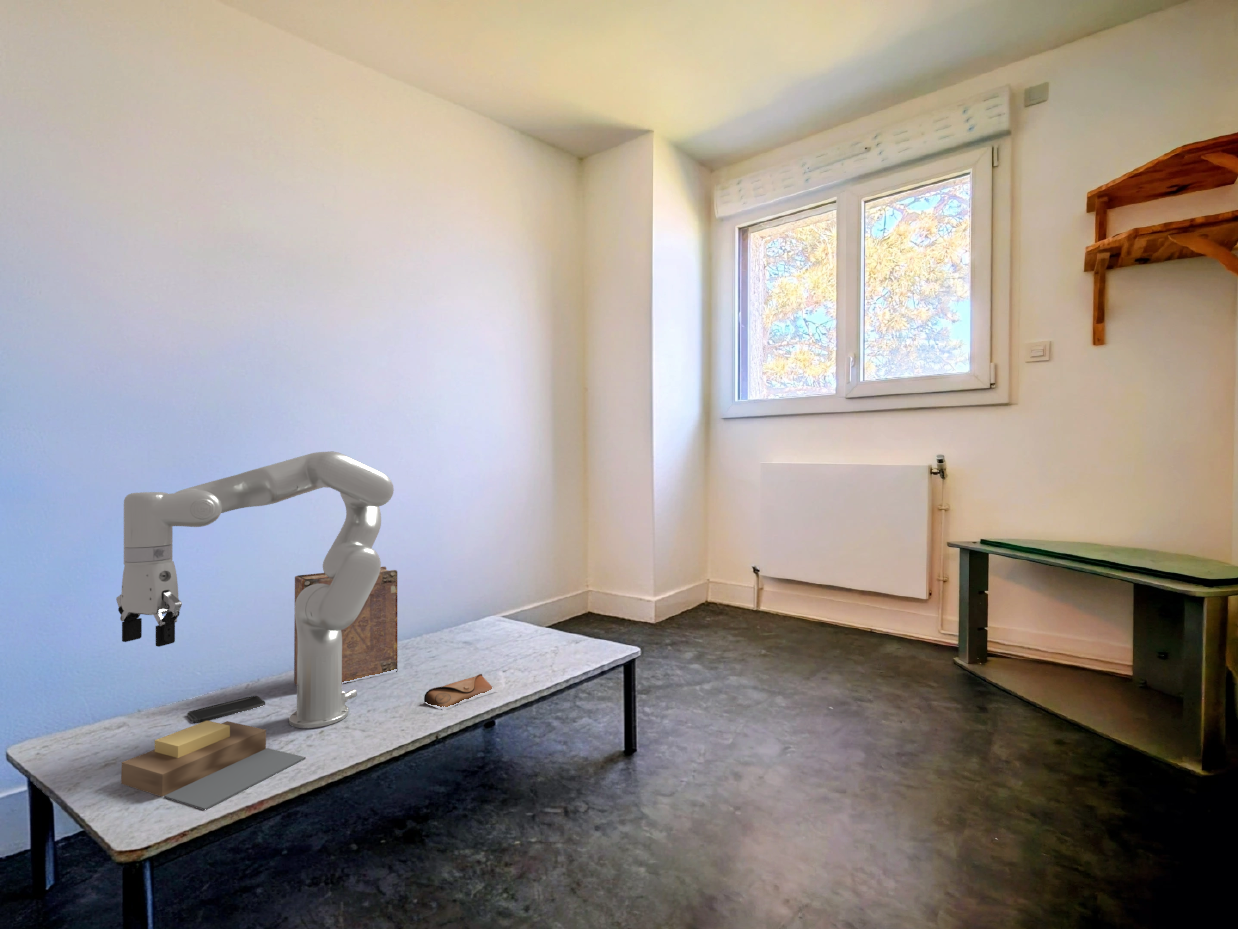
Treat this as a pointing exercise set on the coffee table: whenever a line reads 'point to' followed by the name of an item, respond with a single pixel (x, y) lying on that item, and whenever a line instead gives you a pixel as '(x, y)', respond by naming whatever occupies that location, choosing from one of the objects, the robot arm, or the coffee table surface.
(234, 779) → the mat
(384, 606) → the book
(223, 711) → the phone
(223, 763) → the brown wooden block
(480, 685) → the sunglasses case
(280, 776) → the coffee table surface
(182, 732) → the tile
